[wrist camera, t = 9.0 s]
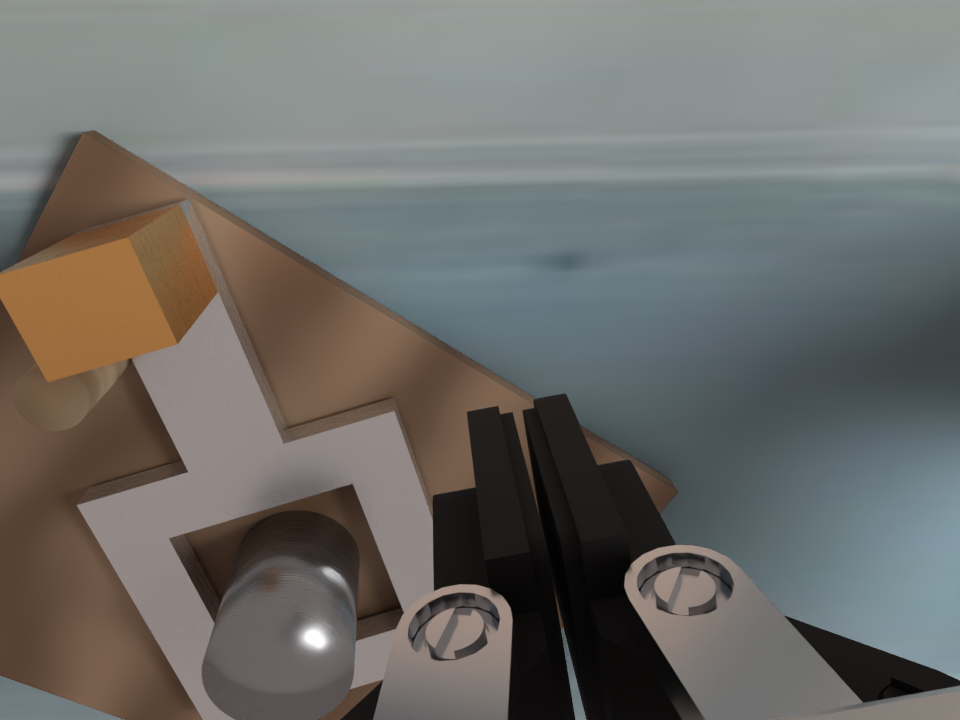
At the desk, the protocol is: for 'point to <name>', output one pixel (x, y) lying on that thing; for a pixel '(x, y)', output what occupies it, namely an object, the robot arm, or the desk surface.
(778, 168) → the desk surface
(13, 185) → the desk surface
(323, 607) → the post
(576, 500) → the robot arm
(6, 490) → the base board
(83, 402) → the dowel
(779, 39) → the desk surface
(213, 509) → the square frame with handle
